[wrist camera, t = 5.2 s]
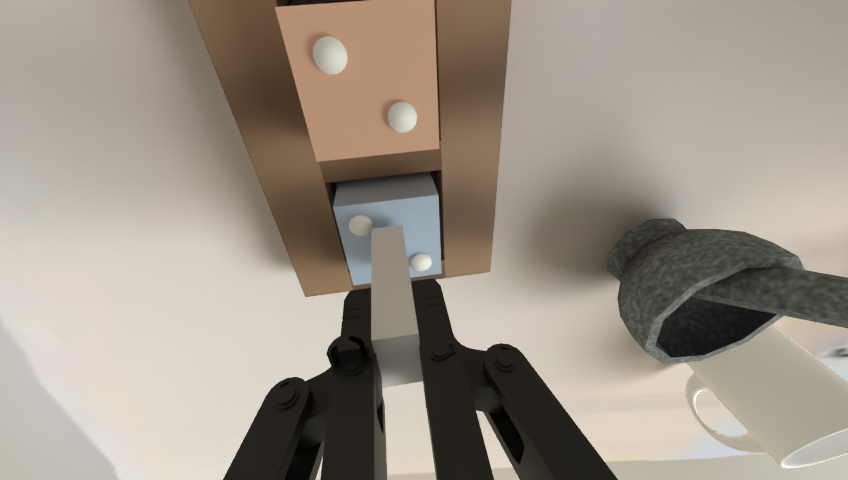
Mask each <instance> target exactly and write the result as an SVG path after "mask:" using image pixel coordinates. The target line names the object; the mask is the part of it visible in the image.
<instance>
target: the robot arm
mask: <svg viewBox="0 0 848 480" xmlns="http://www.w3.org/2000/svg"><path fill="white" fill-rule="evenodd" d="M327 356H328V358H329V361H330V363H331V367H330V368H329V369H328V370H327V371H325V372H324V373H322V374H320V375H318V376H316V377H314V378H312V379H309V380H307V381H304V380H303V379H301V378H298V377H292V378H287V379H285V380H282V381H280V382H279V383H277V384H276V385H275V386H274V387H273V388H272V389H271V390H270V391H269V393H268V394H267V396H266V397H265V399H264V401H263V403H262V405H261V407H260V409H259V411H258V413H257V415H256V417H255V419H254V421H253V423H252V425H251V427H250V428H249V430H248V432H247V434H246V436H245V438H244V440H243V442H242V444H241V446H240V448H239V450H238V452H237V454H236V456H235V458H234V459H233V461H232V463H231V465H230V467H229V469H228V471H227V473H226V475H225V477H224V479H223V480H315V479H316V476H317V473H318V469H319V466H320V463H321V460H322V457H323V462H322V471H321V480H387V462H386V435H385V407H384V400H383V396H382V385H383V388H384V387H390V386H396V385H402V384H408V383H414V382H420V381H423V384H424V392H425V401H426V408H427V414H428V422H429V429H430V436H431V443H432V451H433V458H434V465H435V472H436V479H437V480H494V478H493V474H492V470H491V466H490V463H489V459H488V455H487V451H486V447H485V444H484V440H483V436H482V432H481V428H480V425H479V421H478V417H477V413H476V410H477V411H483V412H484V414H485V416H486V418H487V420H488V421H489V423H490V425H491V427H492V429H493V431H494V433H495V434H496V436H497V438H498V440H499V442H500V444H501V446H502V447H503V449H504V451H505V453H506V455H507V457H508V458H509V460H510V462H511V464H512V466H513V468H514V470H515V471H516V473H517V475H518V477H519V479H520V480H618V479H617V478H616V476H615V475H614V474H613V473H612V471H611V470H610V469H609V467H608V466H607V465H606V463H605V462H604V461H603V459H602V458H601V457H600V455H599V454H598V453H597V451H596V450H595V449H594V447H593V446H592V445H591V444H590V442H589V441H588V440H587V438H586V437H585V436H584V434H583V433H582V432H581V430H580V429H579V428H578V426H577V425H576V424H575V422H574V421H573V420H572V418H571V417H570V416H569V414H568V413H567V412H566V411H565V409H564V408H563V407H562V405H561V404H560V403H559V401H558V400H557V399H556V397H555V396H554V395H553V393H552V392H551V391H550V389H549V388H548V387H547V385H546V384H545V383H544V381H543V380H542V379H541V378H540V376H539V375H538V374H537V372H536V371H535V370H534V368H533V367H532V366H531V364H530V363H529V362H528V360H527V359H526V358H525V356H524V355H523V354H522V353H521V352H520V351H519V350H518V349H517V348H515V347H513V346H511V345H508V344H496V345H493V346H491V347H490V348H488V349H487V351H482V350H475V349H470V348H467V347H465V346H463V345H462V344H460V343H459V342H458V341H457V340H456V338H455V337H454V335H453V332H452V328H451V324H450V320H449V316H448V313H447V309H446V305H445V301H444V297H443V293H442V290H441V286H440V285H439V284H438V283H437V281H436V280H435V279H434V278H431V279H424V280H417V281H411V279H410V273H409V266H408V259H407V253H406V246H405V239H404V233H403V226H402V225H397V226H389V227H381V228H373V229H371V288H365V289H358V290H351V291H350V292H349V293H348V295H347V297H346V298H345V300H344V309H343V321H342V329H341V336H340V337H338V338H337V339H335V340H334V341H333V342H332V343H331V345H330V346H329V348H328V351H327Z"/></svg>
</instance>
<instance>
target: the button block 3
mask: <svg viewBox="0 0 848 480" xmlns="http://www.w3.org/2000/svg"><path fill="white" fill-rule="evenodd" d="M333 210H334V213H335V217H336V221H337V225H338V229H339V232H340V236H341V240H342V244H343V248H344V251H345V255H346V259H347V263H348V267H349V270H350V274H351V278H352V282H353V285H360V284H368V283H371V229H373V228H381V227H389V226H397V225H402V226H403V233H404V239H405V246H406V253H407V259H408V266H409V273H410V278H412V277H420V276H427V275H435V274H442V271H441V246H440V221H439V195H438V192H437V190H436V187H435V184H434V181H433V179H432V176H431V173H430V171H427V172H418V173H409V174H400V175H391V176H382V177H373V178H364V179H355V180H346V181H339V182H338V186H337V191H336V195H335V200H334V204H333Z"/></svg>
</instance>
